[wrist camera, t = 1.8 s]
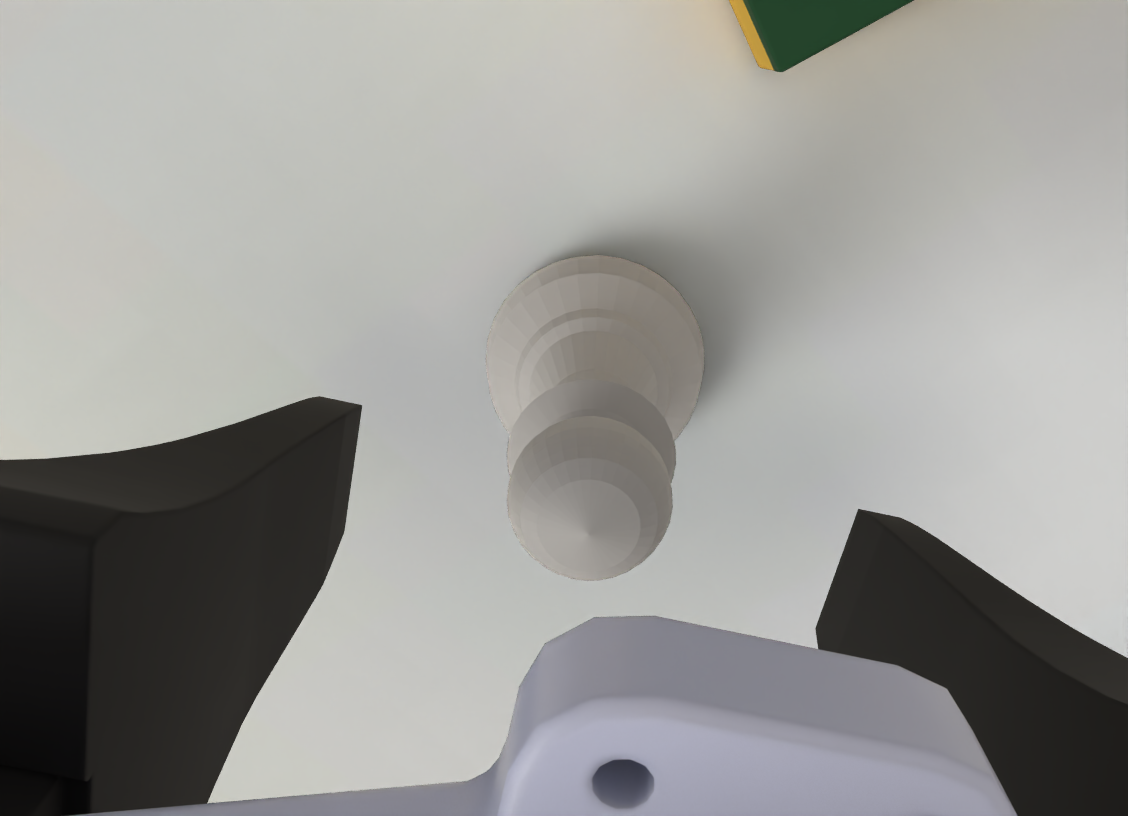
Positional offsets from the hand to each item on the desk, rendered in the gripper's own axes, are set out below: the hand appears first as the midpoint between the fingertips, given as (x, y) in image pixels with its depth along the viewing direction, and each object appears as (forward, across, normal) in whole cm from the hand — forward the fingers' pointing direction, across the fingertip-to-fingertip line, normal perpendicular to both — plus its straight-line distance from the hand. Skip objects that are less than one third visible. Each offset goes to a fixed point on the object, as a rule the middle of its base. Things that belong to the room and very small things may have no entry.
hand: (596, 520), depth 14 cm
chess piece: (+8, 0, 0) cm, 8 cm away
